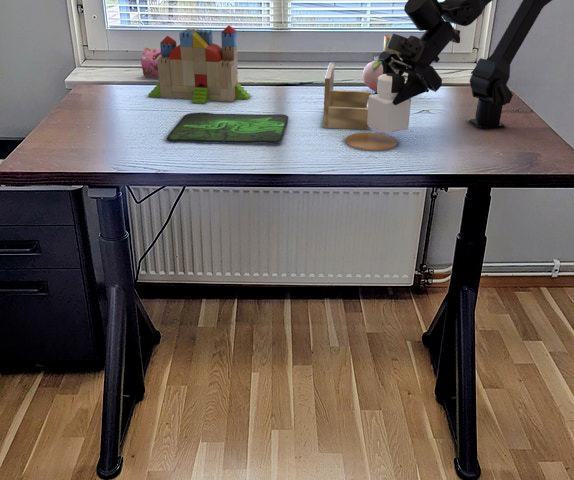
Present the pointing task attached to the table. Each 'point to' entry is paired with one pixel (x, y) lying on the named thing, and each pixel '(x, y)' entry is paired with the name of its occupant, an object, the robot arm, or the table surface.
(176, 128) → the mouse mat
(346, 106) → the spice rack
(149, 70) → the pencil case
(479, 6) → the robot arm
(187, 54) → the block set
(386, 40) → the shoe polish box
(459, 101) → the table surface
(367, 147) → the cork coaster
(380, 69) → the decorative fruit
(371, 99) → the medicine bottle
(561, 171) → the table surface
